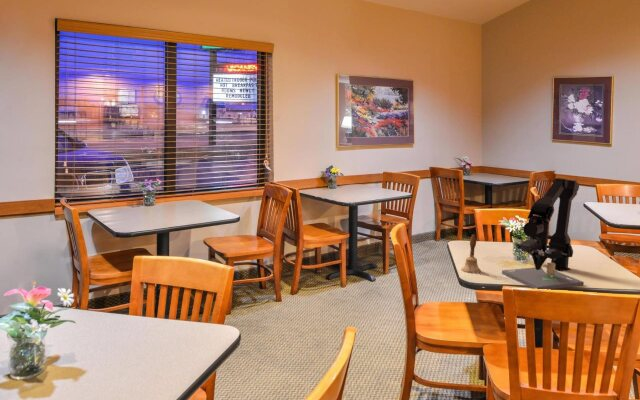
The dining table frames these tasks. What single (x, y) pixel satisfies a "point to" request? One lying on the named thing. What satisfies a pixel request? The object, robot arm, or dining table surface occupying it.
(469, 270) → the hand bell
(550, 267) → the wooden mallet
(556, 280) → the grey flat square slab
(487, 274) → the dining table surface
